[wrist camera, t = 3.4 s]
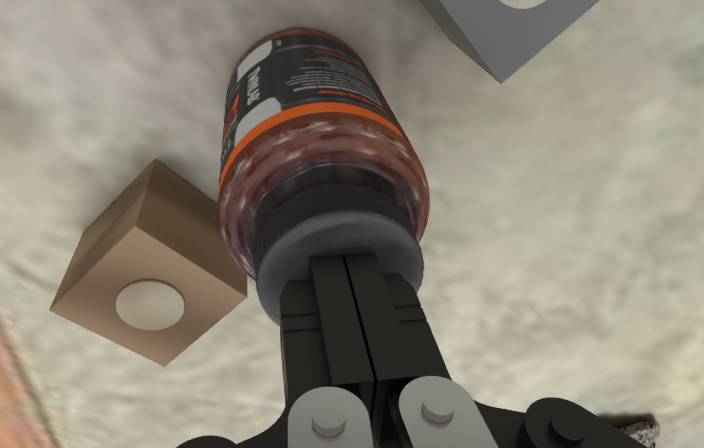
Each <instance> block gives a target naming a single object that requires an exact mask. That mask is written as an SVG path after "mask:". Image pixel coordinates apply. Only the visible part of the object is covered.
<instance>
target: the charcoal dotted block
mask: <svg viewBox="0 0 704 448" xmlns="http://www.w3.org/2000/svg"><path fill="white" fill-rule="evenodd" d="M420 1H421V2H422V3H423V5H424V6H425V7H426V9H427V10H428V11H429V13H430V14H431V15H432V17H433V18H434V19H435V20H436V22H437V23H438V24H439V26H440V27H441V28H442V30H443V31H444V32H445V34H446V35H447V36H448V38H449V39H450V40H451V42H453V43H454V44H455V45H456V46H457V47H458V48H460V49H461V50H462V51H463V52H464V53H465V54H467V55H468V56H469V57H470V58H471V59H472V60H474V61H475V62H476V63H477V64H478V65H479V66H481V67H482V68H483V69H484V70H485V71H486V72H488V73H489V74H490V75H491V76H492V77H493V78H495V79H496V80H497V81H498V82H499V83H500V84H501V83H503V82H504V81H505V80H506V79H507V78H508V77H510V76H511V75H512V74H513V73H514V72H515V71H517V70H518V69H519V68H520V67H521V66H523V65H524V64H525V63H526V62H527V61H528V60H530V59H531V58H532V57H533V56H534V55H536V54H537V53H538V52H539V51H540V50H541V49H543V48H544V47H545V46H546V45H547V44H549V43H550V42H551V41H552V40H553V39H554V38H556V37H557V36H558V35H559V34H560V33H561V32H563V31H564V30H565V29H566V28H567V27H569V26H570V25H571V24H572V23H573V22H574V21H576V20H577V19H578V18H579V17H580V16H582V15H583V14H584V13H585V12H586V11H587V10H589V9H590V8H591V7H592V6H593V5H595V4H596V3H597V2H598V1H599V0H420Z"/></svg>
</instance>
